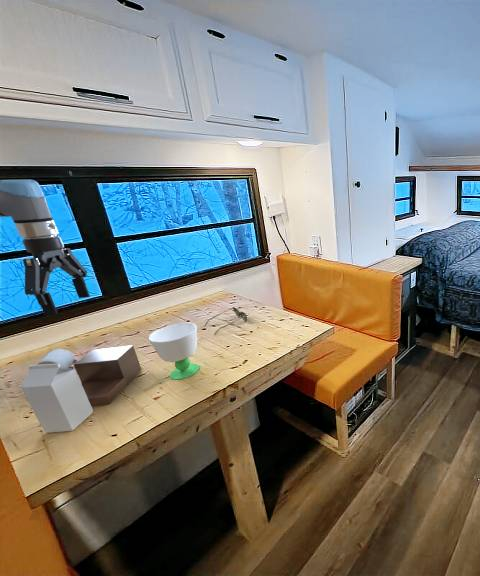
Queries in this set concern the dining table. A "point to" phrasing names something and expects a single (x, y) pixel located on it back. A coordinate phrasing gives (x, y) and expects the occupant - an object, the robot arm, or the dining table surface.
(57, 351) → the ceramic mug
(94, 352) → the shelf stand
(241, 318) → the sunglasses
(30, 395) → the milk carton
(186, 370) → the cup
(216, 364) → the dining table surface
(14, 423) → the dining table surface
